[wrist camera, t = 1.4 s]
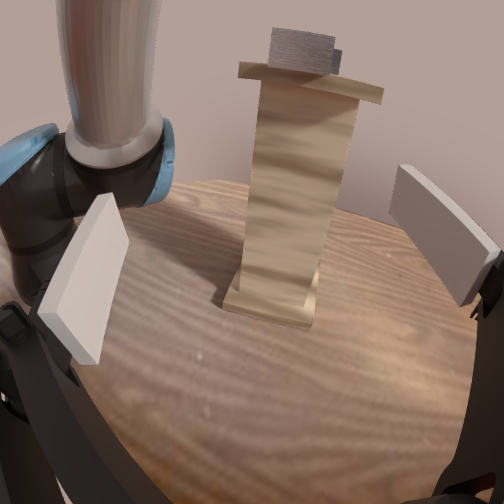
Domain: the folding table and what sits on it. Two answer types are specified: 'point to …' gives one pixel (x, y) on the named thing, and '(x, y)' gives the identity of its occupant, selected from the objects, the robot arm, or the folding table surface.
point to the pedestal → (293, 189)
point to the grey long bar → (304, 52)
